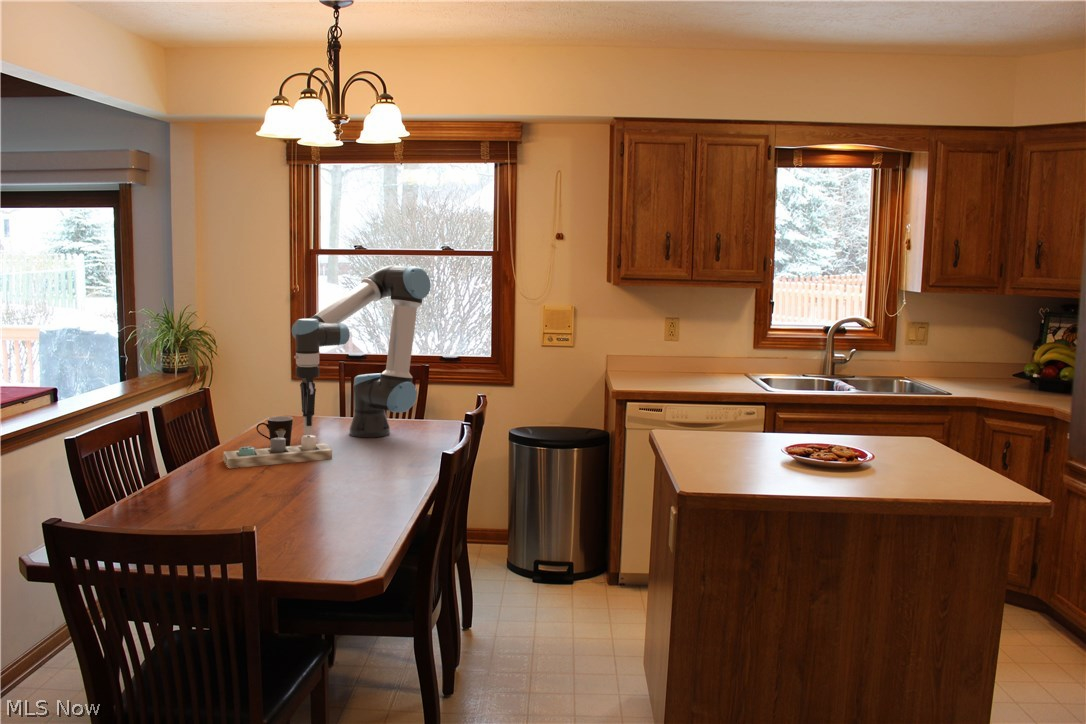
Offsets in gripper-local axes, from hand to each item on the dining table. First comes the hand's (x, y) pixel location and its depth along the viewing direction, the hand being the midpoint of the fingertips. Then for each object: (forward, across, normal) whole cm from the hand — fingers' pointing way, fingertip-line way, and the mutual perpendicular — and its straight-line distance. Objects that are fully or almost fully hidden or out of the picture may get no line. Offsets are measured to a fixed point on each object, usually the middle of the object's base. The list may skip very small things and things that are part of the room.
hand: (308, 434), depth 285 cm
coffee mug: (+8, -20, -7) cm, 23 cm away
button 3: (+8, 0, -20) cm, 21 cm away
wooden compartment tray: (+8, 0, -10) cm, 13 cm away
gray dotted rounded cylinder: (+5, 0, -10) cm, 11 cm away
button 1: (+5, 0, 0) cm, 5 cm away
